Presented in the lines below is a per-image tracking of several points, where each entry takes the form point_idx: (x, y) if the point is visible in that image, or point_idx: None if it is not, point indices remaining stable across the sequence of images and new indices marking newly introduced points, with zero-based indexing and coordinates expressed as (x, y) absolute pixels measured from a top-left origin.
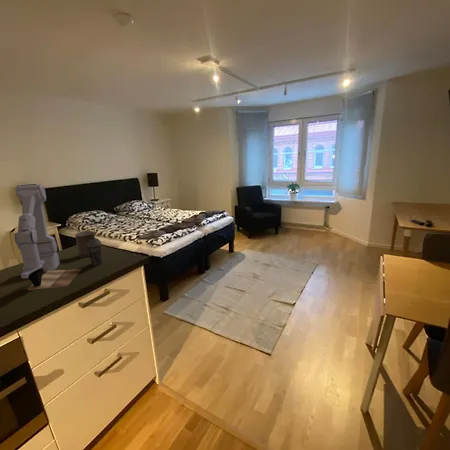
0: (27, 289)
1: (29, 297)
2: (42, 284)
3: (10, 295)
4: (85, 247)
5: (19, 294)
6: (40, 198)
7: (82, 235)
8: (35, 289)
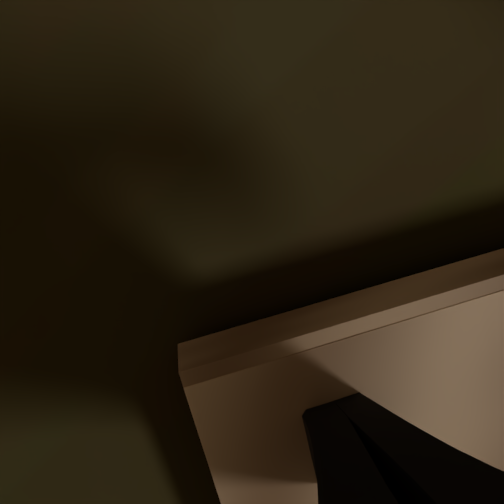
0: (179, 372)
1: (29, 492)
2: None
3: (38, 62)
4: None
5: (100, 227)
6: None
7: None
8: (215, 485)
